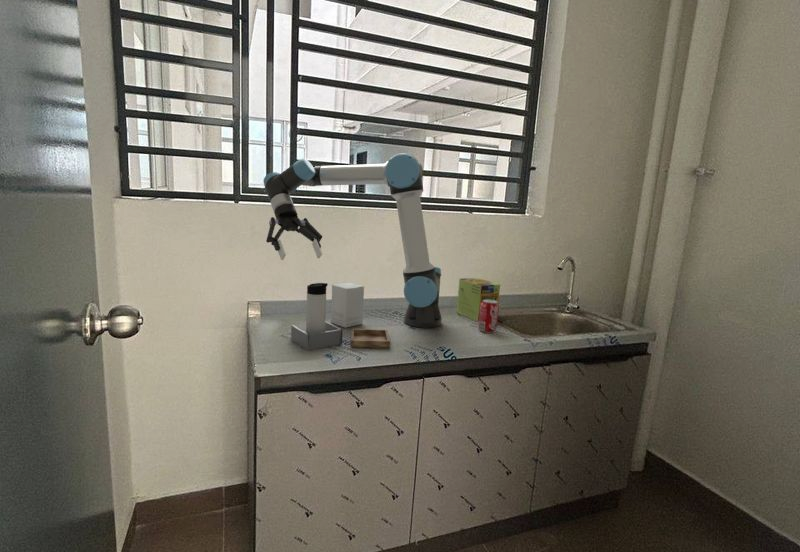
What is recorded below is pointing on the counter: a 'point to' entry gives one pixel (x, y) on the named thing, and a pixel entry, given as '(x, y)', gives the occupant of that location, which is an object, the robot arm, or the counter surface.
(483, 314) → the soda can
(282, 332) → the counter surface
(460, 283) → the protein box
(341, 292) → the supplement box
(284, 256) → the robot arm
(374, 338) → the tray
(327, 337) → the bay
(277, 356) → the counter surface
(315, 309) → the travel mug
